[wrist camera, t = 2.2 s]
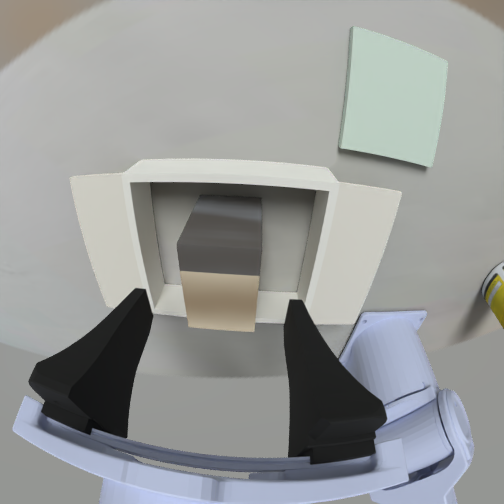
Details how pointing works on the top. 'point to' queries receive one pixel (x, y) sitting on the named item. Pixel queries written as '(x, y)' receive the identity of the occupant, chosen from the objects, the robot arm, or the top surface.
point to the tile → (392, 98)
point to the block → (221, 262)
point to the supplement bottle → (495, 292)
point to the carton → (237, 172)
